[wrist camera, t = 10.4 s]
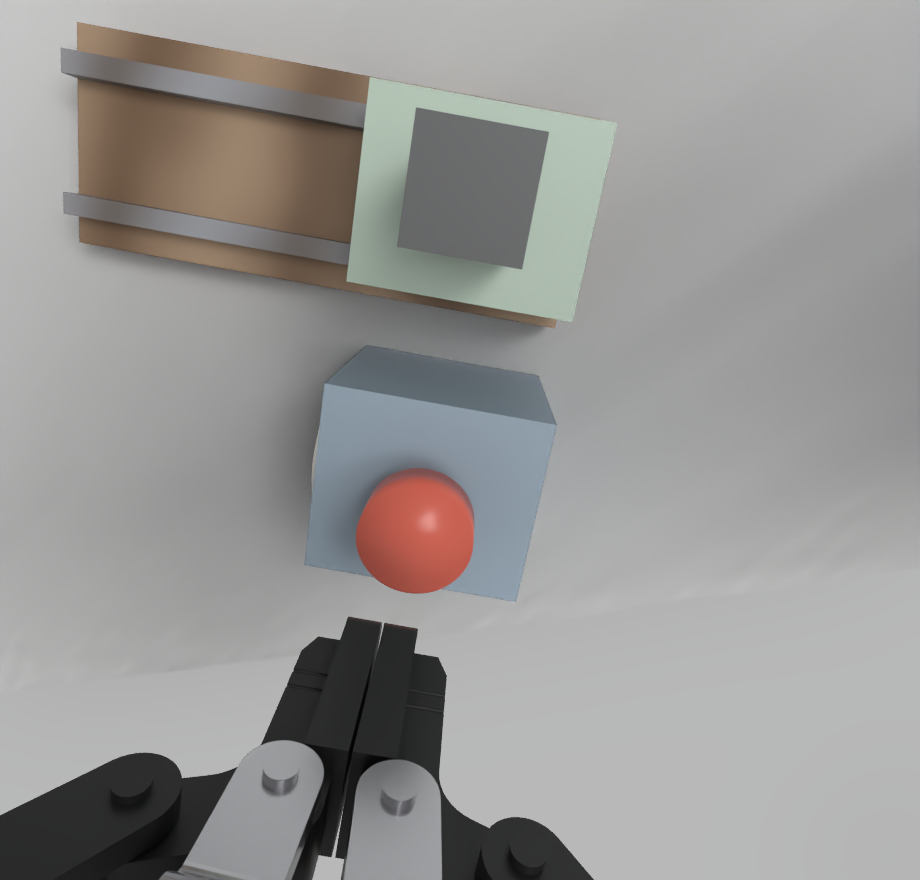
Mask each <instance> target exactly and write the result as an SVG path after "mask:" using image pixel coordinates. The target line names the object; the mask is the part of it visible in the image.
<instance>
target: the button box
mask: <svg viewBox="0 0 920 880" xmlns="http://www.w3.org/2000/svg"><path fill="white" fill-rule="evenodd" d="M556 426H557V425H556V422H555V419H554V417H553V414H552V411H551V408H550V406H549V403H548V400H547V398H546V395H545V392H544V389H543V387H542V384H541V381H540V379H539V376H535V375H529V374H524V373H518V372H513V371H507V370H501V369H496V368H490V367H485V366H479V365H474V364H468V363H463V362H457V361H451V360H446V359H440V358H435V357H429V356H424V355H418V354H413V353H407V352H401V351H396V350H390V349H385V348H379V347H374V346H368V345H367V346H366V347H364V348H363V349H362V350H361V351H360V352H359V353H358V354H357V355H356V356H354V357H353V358H352V359H351V360H350V361H349V362H348V363H347V364H346V365H344V366H343V367H342V368H341V369H340V370H339V371H338V372H337V373H335V374H334V375H333V376H332V377H331V378H330V379H329V380H328V381H327V382H325V383H324V391H323V400H322V409H321V418H320V425H319V429H318V434H317V438H316V443H315V449H314V455H313V463H312V475H311V488H312V500H311V509H310V518H309V527H308V537H307V546H306V555H305V564H304V565H308V566H313V567H319V568H325V569H331V570H336V571H342V572H348V573H353V574H359V575H365V576H371V577H373V576H372V575H371V574H370V572H369V571H368V570H367V569H366V567H365V566H364V564H363V563H362V561H361V559H360V556H359V554H358V550H357V546H356V530H357V525H358V522H359V520H360V517H361V515H362V513H363V510H364V508H365V506H366V504H367V502H368V499H369V497H370V495H371V494H372V492H373V490H374V489H375V488H376V486H377V485H378V484H379V483H380V482H381V481H382V480H384V479H385V478H386V477H388V476H390V475H392V474H393V473H396V472H398V471H401V470H405V469H411V468H424V469H431V470H435V471H438V472H440V473H443V474H445V475H447V476H448V477H450V478H451V479H453V480H454V481H455V482H457V483H458V484H459V485H460V486H461V487H462V489H463V490H464V491H465V492H466V494H467V495H468V497H469V499H470V501H471V504H472V507H473V511H474V543H473V552H472V555H471V559H470V561H469V563H468V565H467V567H466V569H465V570H464V572H463V573H462V574H461V575H460V576H459V577H458V578H457V579H456V580H455V581H454V582H452V583H451V584H449V585H448V586H446V587H444V588H442V589H445V590H451V591H456V592H462V593H468V594H474V595H479V596H485V597H491V598H496V599H502V600H508V601H514V602H516V599H517V595H518V591H519V586H520V582H521V578H522V573H523V569H524V565H525V560H526V556H527V552H528V547H529V543H530V539H531V534H532V530H533V526H534V521H535V517H536V512H537V508H538V504H539V499H540V495H541V491H542V486H543V482H544V478H545V473H546V469H547V465H548V460H549V456H550V452H551V447H552V443H553V439H554V434H555V430H556Z"/></svg>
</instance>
